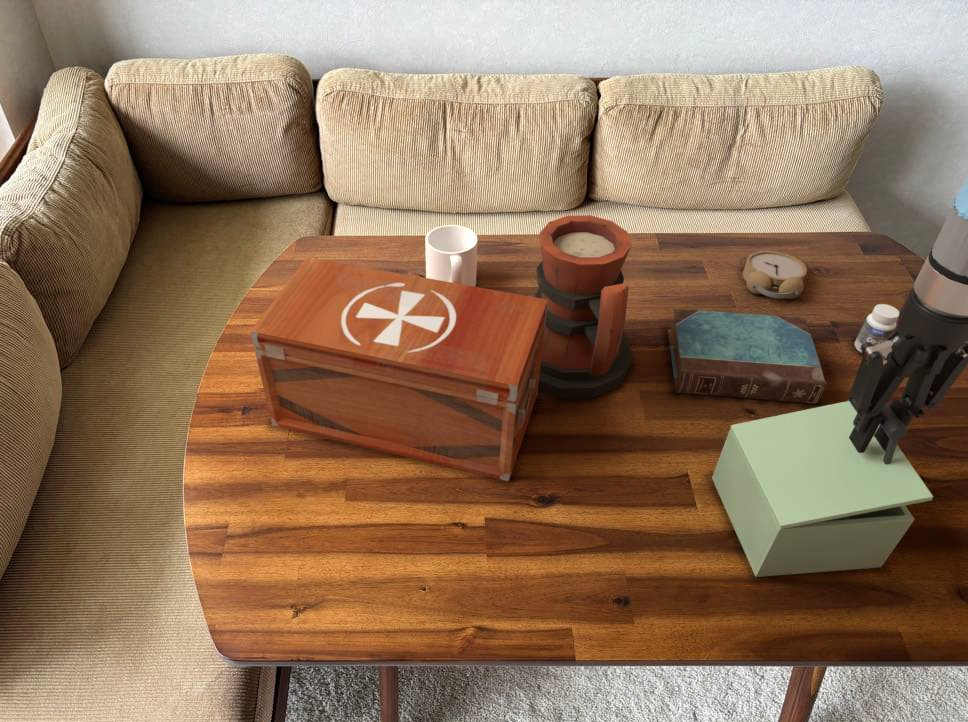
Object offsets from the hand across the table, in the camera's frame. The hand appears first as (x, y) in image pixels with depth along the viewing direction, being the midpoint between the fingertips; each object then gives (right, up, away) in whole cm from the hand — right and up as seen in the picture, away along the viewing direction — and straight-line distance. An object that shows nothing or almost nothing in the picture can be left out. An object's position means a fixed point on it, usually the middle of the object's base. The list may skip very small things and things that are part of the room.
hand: (869, 443), depth 100 cm
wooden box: (-61, +4, +29) cm, 68 cm away
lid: (-5, -3, +2) cm, 6 cm away
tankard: (-32, +12, +36) cm, 50 cm away
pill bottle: (+21, +15, +38) cm, 46 cm away
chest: (-5, -12, +11) cm, 17 cm away
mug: (-53, +28, +53) cm, 80 cm away
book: (-3, +12, +35) cm, 37 cm away
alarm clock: (+10, +29, +52) cm, 60 cm away
